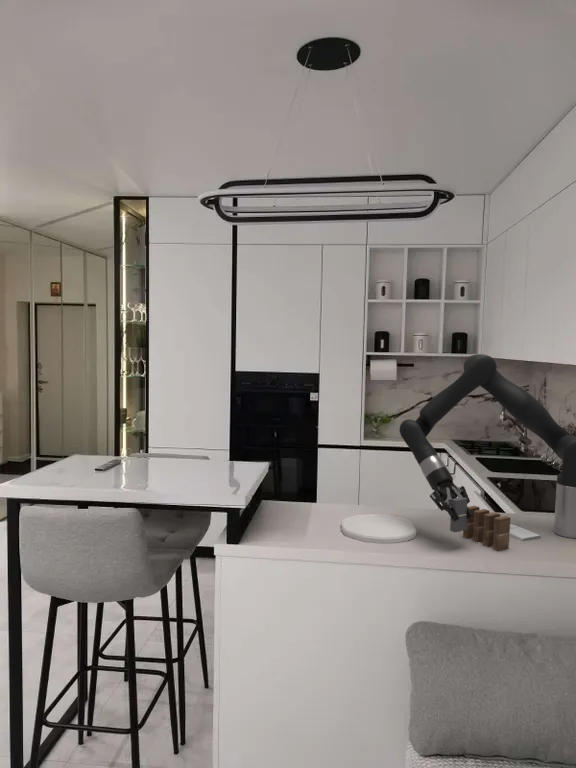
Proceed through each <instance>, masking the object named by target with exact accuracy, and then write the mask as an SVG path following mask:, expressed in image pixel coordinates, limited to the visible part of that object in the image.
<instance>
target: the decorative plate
mask: <svg viewBox="0 0 576 768" xmlns="http://www.w3.org/2000/svg"><path fill="white" fill-rule="evenodd" d="M341 526H342V527H341V533H344V534H345V535H346V536H345V535H344V534H343V535H344V536H345V537H348V538H351V539H353V538H354V540H356V539H357V541H360V540H361V542H364V541H368V542H367V543H373V542H379V543H378V544H382V543H385V544H398V542H399V543H404V542H408V540H409V541H410V540H413V539H415V538H416V537H417V528H416V527H415V526H414V524H413V523H412V522H411V521H410V520H407V519H406V518H403V517H398V516H393V515H388V514H378V513H370V514H356V515H352V516H348V517H345V518H344V519H342V520H341Z"/></svg>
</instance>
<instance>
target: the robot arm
mask: <svg viewBox="0 0 576 768" xmlns="http://www.w3.org/2000/svg"><path fill="white" fill-rule="evenodd" d="M497 367H498V366H497V362H496V360H495V359H494V358H493V357H492V356H490V355H487V354H484V353H483V354H472V355H470V356H468V357H467V358H466V359H465V360H464V363H463V373H462V374H461V375H460V376H459V377H458V378H457V379H456V380H455V381H454V382H452V383H450V385H448V386H447V387H445V388H444V389H443V390H441V391H440V392H438V393H437V394H435V396H434V397H432V398H431V399H430V400H429V401H428V402H427V403H426V404H425V405H424V406H423V407H422V408H421V409H420V410H419V416H418V417H417V418H416V419H415V420H414V419H411V418H410V419H405V420H403V421H402V422H401V423H400V425H399V435H400V436H401V438H402V439H403V442H405V444H406V445H407V447H408V448H409V450H410V452H411V453H412V455H413V456H414V459H415V460H416V462H417V464H418V466H419V467H420V470H421V472H422V474H423V476H424V478H425V480H426V481H427V483H428V484H429V486H430V488H431V490H432V491H433V492H431V494H429V497H430V499H431V500H432V501H433V503H434V504H435V505H436V506H437V507H438V509H439V510H440V511H445V512H447V513H448V515H449V516H450V519H452V520H453V521H454V522H456V521H457V520H459V516H458V514H457V513H456V511H455V510H454V508H452V507H453V506H452V504H451V499H455V498H460V497H464V498H467V505H468V504H469V503H470V502H471V500H470V498H469V495H468V493H467V490H466V487H465V486H463V485H461V486H460V487H459V486H457V485H456V484H455V483H454V478H453V476H452V474H451V473H450V470H449V469H448V467H447V466H446V464H445V462H444V461H443V460H442V458H441V457H440V456H439V454H438V452H437V451H436V449H435V448H434V446H433V445H432V444H431V443H430V441H429V440H428V439H427V437H428V435H429V434H430V433H431V431H432V430H433V428H434V427H435V425H436V424H437V423H439V422H440V421H441V420H442V419H443V418H444V417H445V416H446V415H447V414H448V413H449V412H451V410H453V408H455V407H456V406H457V405H458V404H459V403H460V402H461V401H462V400H463V399H465V398H466V397H467V396H469V394H471V393H472V392H473V391H475V390H476V389H478V388H479V387H481V388H482V389H483V390H485V391H487V393H489V394H490V395H491V396H492V397H493V399H495V401H497V402H498V403H499V405H501V406H502V407H503V408H504V409H505V410H506V411H507V412H508V413H509V415H511V416H512V417H513V418H514V419H516V420H517V422H519V423H520V424H522V426H524V427H525V428H526V429H528V430H529V431H531V432H532V433H533V434H535V436H538V437H539V438H540V439H541V440H543V442H544V443H545V444H546V445H547V446H548V447H549V448H550V449H551V450H552V451H553V452H554V453H555V454H556V455H557V457H558V458H559V459H560V460H562V465H561V471H560V473H558V474H557V476H556V488H555V490H556V491H555V506H554V523H553V533H554V534H556V535H558V536H562V537H565V538H570V539H572V538H573V539H576V436H575V435H574V434H572V433H570V432H569V431H567V430H566V429H564V427H562V426H561V425H559V424H558V423H557V422H556V421H555V419H554V418H553V417H552V415H551V414H550V412H549V411H548V410H547V408H546V407H544V405H543V404H542V403H541V402H539V401H538V400H537V399H536V398H535V396H533V395H532V394H530V393H529V392H528V391H526V390H525V389H523V388H522V387H521V386H519V385H517V384H516V383H513V382H511V381H510V379H507V378H506V377H505V376H503V375H502V374H501V373H500V372H499V370H497V369H498V368H497ZM468 507H469V506H467V519H469V518H470V517H471V516H472V513H471V511H470V510H469V508H468Z"/></svg>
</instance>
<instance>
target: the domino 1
mask: <svg viewBox="0 0 576 768" xmlns="http://www.w3.org/2000/svg"><path fill="white" fill-rule="evenodd" d="M451 504H452V506H453V507H452V508H454V510H455V511H456V513H457V514H458V516H459V520H457V521H456V522H454V521H453V520H452V519H451V518H449V519H450V520H449V521H450V522H449V523H450V525H449V526H450V527H449V531H450V532H453V533H460V532H463V531H464V530H466V524H467V507H468V504H467V498H464V497H460V498H458V497H457V498H455V499H451Z"/></svg>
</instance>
